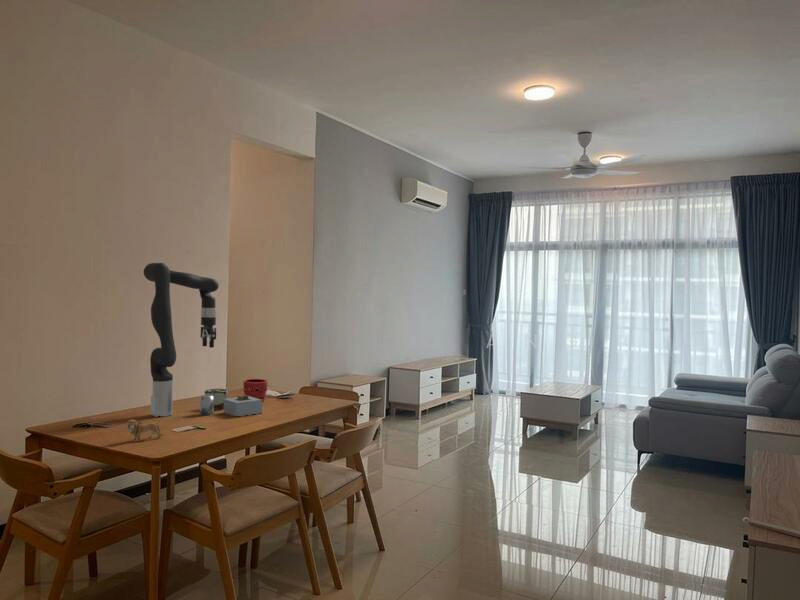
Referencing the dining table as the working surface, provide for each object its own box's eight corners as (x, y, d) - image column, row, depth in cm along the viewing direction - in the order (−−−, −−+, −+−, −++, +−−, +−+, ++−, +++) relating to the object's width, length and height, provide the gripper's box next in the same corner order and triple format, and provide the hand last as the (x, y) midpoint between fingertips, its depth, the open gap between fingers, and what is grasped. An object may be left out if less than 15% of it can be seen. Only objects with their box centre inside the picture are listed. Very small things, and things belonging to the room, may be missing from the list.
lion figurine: (128, 443, 241) (129, 421, 241) (124, 441, 245) (124, 419, 245) (165, 437, 251) (165, 416, 251) (160, 435, 255) (160, 414, 255)
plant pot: (240, 403, 331) (241, 381, 331) (246, 399, 344) (246, 378, 344) (264, 403, 332) (265, 382, 331) (269, 399, 345) (269, 378, 345)
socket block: (236, 417, 295) (236, 402, 295) (223, 412, 305) (223, 398, 305) (261, 413, 304) (262, 399, 304) (248, 409, 314) (248, 396, 314)
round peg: (203, 416, 297) (203, 397, 296) (197, 413, 301) (197, 396, 301) (215, 414, 301) (216, 396, 301) (210, 412, 306) (210, 394, 306)
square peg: (241, 414, 302) (241, 396, 302) (237, 413, 305) (237, 395, 305) (248, 413, 304) (248, 395, 304) (244, 412, 307) (244, 394, 307)
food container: (231, 407, 319) (231, 388, 319) (226, 409, 313) (227, 390, 313) (209, 406, 320) (209, 388, 320) (204, 409, 314) (204, 389, 314)
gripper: (196, 316, 322) (195, 346, 322) (207, 316, 311) (207, 348, 311) (209, 315, 327) (209, 345, 327) (221, 316, 316) (220, 347, 316)
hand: (208, 346), depth 319 cm, fingers open, 8 cm apart
